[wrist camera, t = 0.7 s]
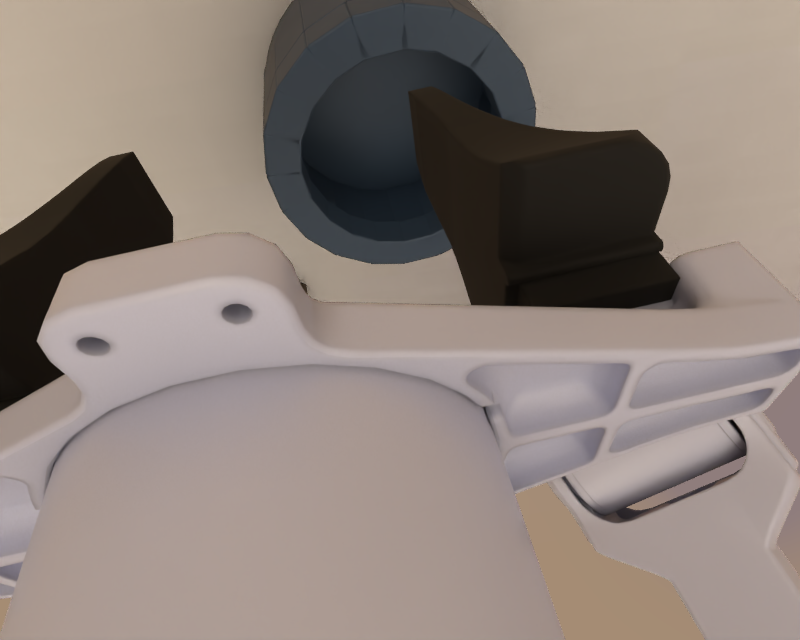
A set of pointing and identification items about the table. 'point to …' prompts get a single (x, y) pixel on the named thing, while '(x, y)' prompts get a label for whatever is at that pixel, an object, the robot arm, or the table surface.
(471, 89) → the jar
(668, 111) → the table surface
